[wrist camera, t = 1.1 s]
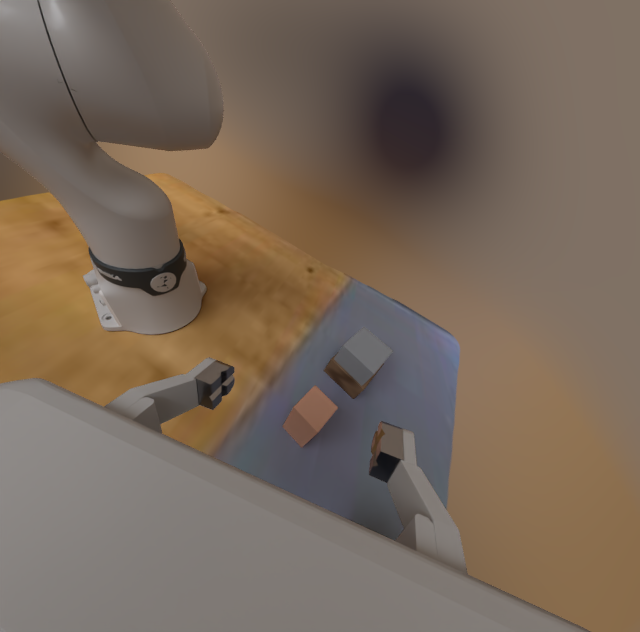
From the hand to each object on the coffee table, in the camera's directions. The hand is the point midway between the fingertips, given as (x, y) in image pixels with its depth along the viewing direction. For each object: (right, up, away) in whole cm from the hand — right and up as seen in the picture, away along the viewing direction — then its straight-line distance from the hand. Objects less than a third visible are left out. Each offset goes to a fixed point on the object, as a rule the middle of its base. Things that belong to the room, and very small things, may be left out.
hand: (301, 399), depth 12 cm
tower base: (+7, -8, +36) cm, 38 cm away
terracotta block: (-2, -14, +27) cm, 30 cm away
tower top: (+8, -5, +32) cm, 34 cm away
